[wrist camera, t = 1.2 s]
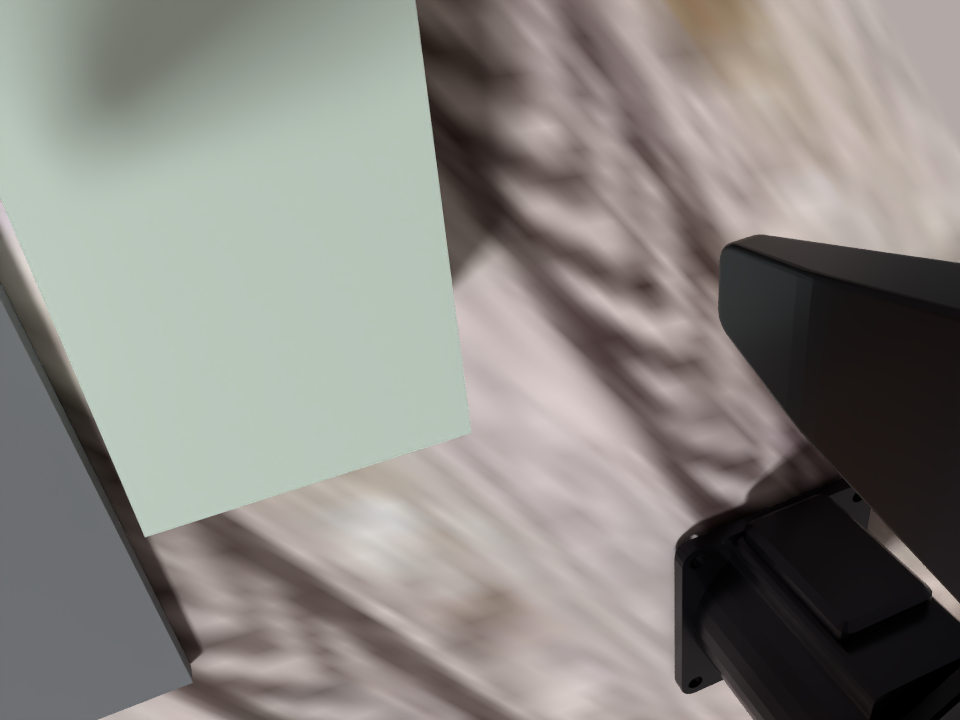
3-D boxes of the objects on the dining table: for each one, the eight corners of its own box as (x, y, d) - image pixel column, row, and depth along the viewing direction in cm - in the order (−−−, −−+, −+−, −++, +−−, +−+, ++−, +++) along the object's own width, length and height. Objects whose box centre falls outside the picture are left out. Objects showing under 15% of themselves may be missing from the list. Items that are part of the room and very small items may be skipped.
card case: (403, 326, 18) (471, 433, 15) (132, 403, 17) (144, 536, 14) (318, -176, 13) (392, -175, 10) (-75, -126, 12) (-131, -107, 9)
